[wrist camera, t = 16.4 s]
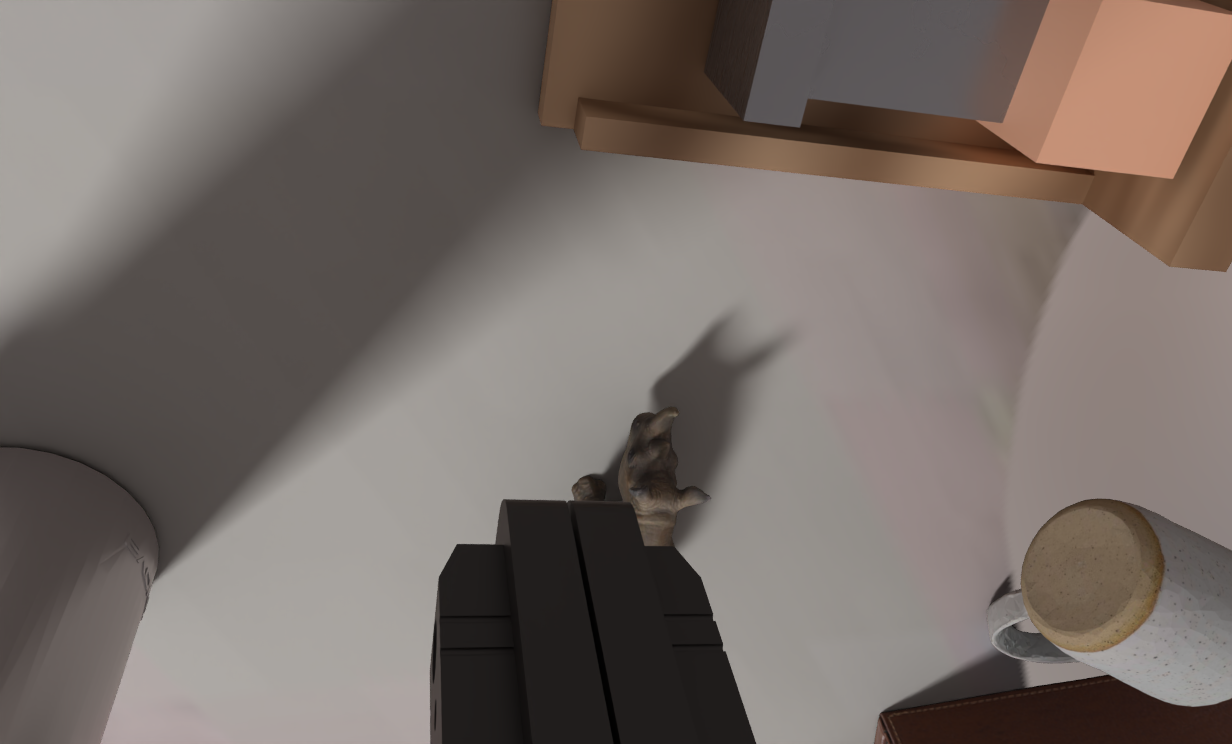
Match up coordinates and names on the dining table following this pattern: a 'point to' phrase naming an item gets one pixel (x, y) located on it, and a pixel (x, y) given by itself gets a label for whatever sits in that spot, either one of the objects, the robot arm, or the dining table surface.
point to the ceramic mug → (1125, 602)
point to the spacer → (1118, 84)
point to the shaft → (871, 55)
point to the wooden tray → (853, 131)
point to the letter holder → (1060, 718)
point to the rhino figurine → (648, 478)
